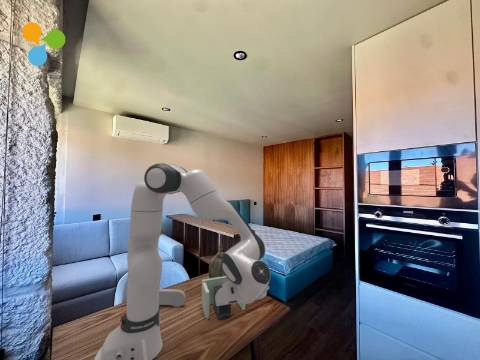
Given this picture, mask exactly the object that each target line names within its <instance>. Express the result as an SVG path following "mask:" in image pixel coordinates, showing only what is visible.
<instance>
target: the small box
mask: <svg viewBox="0 0 480 360" xmlns="http://www.w3.org/2000/svg"><path fill="white" fill-rule="evenodd" d="M221 288H222V285H221V286H214V304H212V305H213V309H214V311H215V314H216V316H217V319H218V320H222V319H225V318H229V317H231V316H232V304H228V305H222V306H216V302H215V295H216V293H217V292H218V290H219V289H221Z"/></svg>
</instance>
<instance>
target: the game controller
mask: <svg viewBox="0 0 480 360" xmlns="http://www.w3.org/2000/svg"><path fill="white" fill-rule="evenodd" d="M186 299H187V296H186V293H185V292H184V291H183V290H181V289H177V288H176V289H175V288H173V289H171V288H169V289H168V288H167V289H166V288H159V306H165V305H166V306H173V307H174V308H179V307H181V306H183V305H184V304H185V302H186Z"/></svg>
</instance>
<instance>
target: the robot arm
mask: <svg viewBox="0 0 480 360" xmlns="http://www.w3.org/2000/svg"><path fill="white" fill-rule="evenodd" d="M143 177H144V178H143V180H144V181H141V182H139V183H137V184H136V186H135V187H134V191H133V194H132V200H131V207H130V221H129V222H130V223H129V232H128V235H129V236H128V243H127V244H128V245H127V254H126V255H127V256H126V260H127V262H126V263H127V286H126V287H127V288H126V289H127V290H126V309H124V310H122V311H121V312H120V319H119V325H118V326H117V327H116V328H115V329H113V330H112V331H111V332H109V333H108V335H107V336H106V338H105V340H104V342H103V344H102V346H101V348H99V350H98V351H97V353H96V355H95V357H94V360H154V359H155V358H156V357H157V356H158V355H159V353H160V352H161V350H162V349H163V338H162V336H161V330H160V322H161V309H160V305H159V289H160V287H161V279H162V271H163V261H162V257H161V256H160V254H159V241H160V238H161V237H160V236H161V232H162V225H163V224H162V223H163V211H164V210H163V207H164V204H163V203H164V199H165V197H166V196H167V195H173V194H176V193H182V194H183V195H184V196H185V199H187V202H188V204H189V206H190V207H191V209H192V212H193V213H194V215H195V216H197V217H198V218H199V219H201V220H204V221H216V220H217V221H218V220H225V221H227V222H229V223H230V225H231V226H232V227H233V228H234V230H235V231H236V233H237V234H238V236H240V240H239V242H237V243H236V244H234V245H233V246H231V247H230V248H229V249H228V250H227V251H225V252H223V253H224V254H223V255H222V258H221V267H222V271H223V273H224V274H225V276H226V277H227V278H228V279H229V280H230V282H226V283H224V284H223V285H222V288H221V289H219V290H218V292H217V293H216V295H215V302H216V306H222V305H228V304H231V305H235V304H236V305H237V304H239V303H243V304H246V305H249V304H251V303H253V302H255V300H262V299H264V298H265V297H266V296H267V294H268V293H267V292H268V290H269V289H270V286H269V284H270V281H271V269H270V268H269V265H268V264H267V263H266V262H265V261H263V260H262V259H263V258H264V257H265V254H266V246H265V243H264V241H263V240H262V238H261V237H260V236H259V235H258V234H256V232H255V231H254V230H253V228H252V227H251V226H250V224H249V223H248V221H247V220H246V219H245V218H244V216H243V215H242V214H241V212H240V211H239V209H238V208H237V207H236V206H235V205H234V204H233V203H232V202H231V201H228V200H225V199H224V198H223V197H222V196H221V195H220V194H219V192H218V191H217V189H216V187H215V186H214V184H213V182H212V180H211V179H210V177H209V176H208V174H206V173H205V172H204V171H203V170H202V169H198V168H197V169H196V168H195V169H190V170H188V171H187V170H186V168H184V167H182V166H178V165H176V164H172V163H170V164H169V163H163V162H161V163H155V164H152V165H151V166H149V167H148V168H147V169H146V171H145V173H144V176H143Z"/></svg>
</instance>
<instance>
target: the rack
mask: <svg viewBox="0 0 480 360" xmlns="http://www.w3.org/2000/svg"><path fill="white" fill-rule="evenodd" d="M226 282H230V280H229V279H228V278H227V277H226V276H223V277H217V278H210V279H209V278H205V279H201V308H202V311H203V313H204V318H205V319H209V318H210V305H214V286H221V285H223V284H224V283H226ZM238 304H239V305H238V306H239V307H240V308H241V309H242V311H245V310H246V305H247V304H243V303H238Z"/></svg>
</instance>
